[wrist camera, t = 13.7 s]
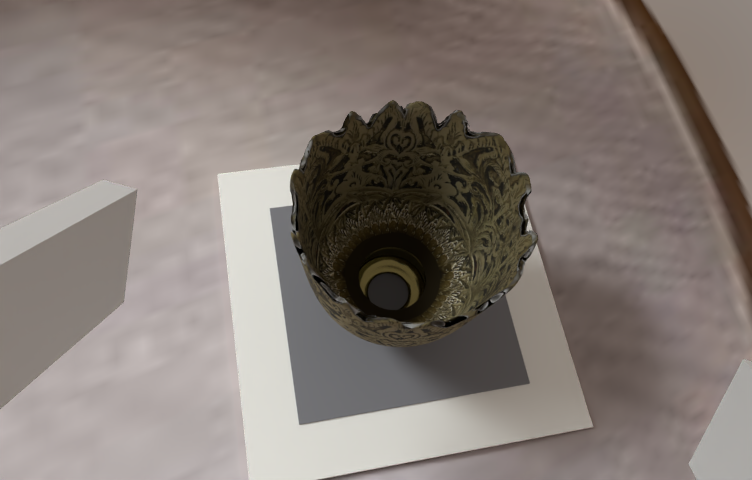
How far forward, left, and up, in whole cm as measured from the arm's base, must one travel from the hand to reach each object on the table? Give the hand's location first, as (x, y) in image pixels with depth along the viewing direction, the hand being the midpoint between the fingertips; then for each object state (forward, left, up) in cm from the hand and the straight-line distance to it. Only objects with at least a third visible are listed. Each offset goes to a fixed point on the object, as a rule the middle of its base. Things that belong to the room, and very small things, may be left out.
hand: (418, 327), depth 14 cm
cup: (-5, +1, -12) cm, 13 cm away
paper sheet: (-5, +2, -12) cm, 13 cm away
